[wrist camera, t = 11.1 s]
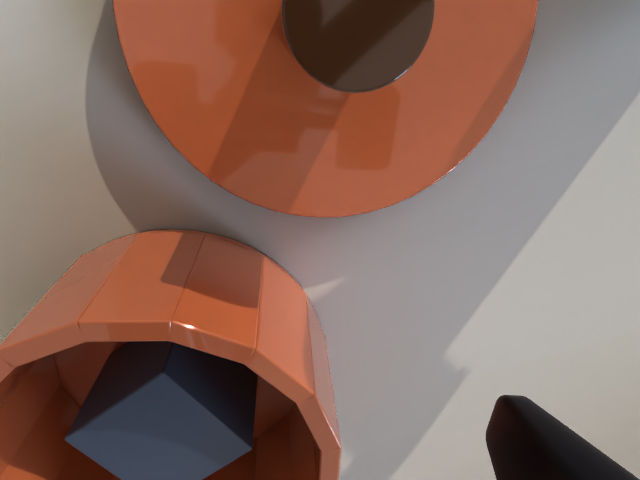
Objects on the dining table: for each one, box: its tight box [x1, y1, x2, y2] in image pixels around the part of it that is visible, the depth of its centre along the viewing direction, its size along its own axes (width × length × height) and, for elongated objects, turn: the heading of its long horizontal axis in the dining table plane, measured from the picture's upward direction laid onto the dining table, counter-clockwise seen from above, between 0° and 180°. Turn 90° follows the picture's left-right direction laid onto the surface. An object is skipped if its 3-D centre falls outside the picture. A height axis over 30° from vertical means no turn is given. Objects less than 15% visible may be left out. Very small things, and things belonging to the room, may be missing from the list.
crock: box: [0, 229, 341, 480], centre depth 18 cm, size 12×12×6 cm
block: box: [64, 341, 258, 480], centre depth 18 cm, size 5×5×5 cm
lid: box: [113, 0, 538, 218], centre depth 12 cm, size 13×13×7 cm
